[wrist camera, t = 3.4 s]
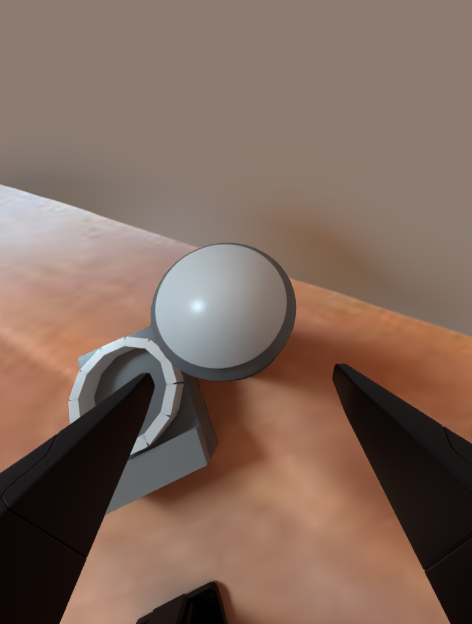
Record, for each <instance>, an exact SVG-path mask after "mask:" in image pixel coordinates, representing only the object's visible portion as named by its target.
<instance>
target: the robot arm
mask: <svg viewBox="0 0 472 624" xmlns="http://www.w3.org/2000/svg"><path fill="white" fill-rule="evenodd" d="M332 379H333V383H334V385H335V388H336V391H337V393H338V396H339V398H340V401H341V404H342V406H343V409H344V411H345V414H346V416H347V418H348V420H349V422H350V424H351V426H352V428H353V430H354V432H355V434H356V436H357V438H358V440H359V442H360V444H361V446H362V448H363V450H364V452H365V454H366V456H367V458H368V460H369V462H370V464H371V466H372V468H373V470H374V472H375V474H376V476H377V478H378V480H379V482H380V484H381V486H382V488H383V490H384V492H385V494H386V496H387V498H388V500H389V502H390V504H391V506H392V508H393V510H394V512H395V514H396V516H397V518H398V520H399V522H400V524H401V526H402V528H403V530H404V532H405V534H406V536H407V538H408V540H409V542H410V544H411V546H412V548H413V550H414V552H415V554H416V556H417V558H418V560H419V562H420V564H421V566H422V568H423V569H424V570H425V574H426V576H427V578H428V580H429V582H430V584H431V586H432V588H433V590H434V592H435V594H436V596H437V598H438V600H439V602H440V604H441V606H442V608H443V610H444V612H445V614H446V616H447V618H448V620H449V622H450V624H472V443H470V442H468V441H467V440H465V439H463V438H462V437H460V436H459V435H457V434H455V433H454V432H452V431H451V430H449V429H448V428H446V427H442V425H441V424H440V423H438V422H436V421H435V420H433V419H432V418H430V417H429V416H427V415H425V414H424V413H422V412H421V411H419V410H418V409H416V408H414V407H413V406H411V405H410V404H408V403H407V402H405V401H403V400H402V399H400V398H399V397H397V396H396V395H394V394H392V393H391V392H389V391H388V390H386V389H385V388H383V387H381V386H380V385H378V384H377V383H375V382H374V381H372V380H370V379H369V378H367V377H366V376H364V375H362V374H361V373H359V372H358V371H356V370H355V369H353V368H351V367H350V366H348V365H347V364H344V363H342V364H335V366H334V371H333V377H332ZM154 389H155V383H154V381H153V378H152V376H151V374H150V373H140V374H139V375H137V376H136V377H135V378H133V379H132V380H131V381H129V382H128V383H126V384H125V385H124V386H122V387H121V388H119V389H118V390H117V391H115V392H114V393H113V394H111V395H110V396H108V397H107V398H106V399H104V400H103V401H101V402H100V403H99V404H97V405H96V406H95V407H93V408H92V409H90V410H89V411H88V412H86V413H85V414H84V415H82V416H81V417H79V418H78V419H77V420H75V421H74V422H72V423H71V424H70V425H68V426H67V427H66V428H64V429H63V430H61V431H60V432H59V433H58V434H56V435H54V436H53V437H52V438H50V439H49V440H48V441H46V442H45V443H43V444H42V445H41V446H39V447H38V448H36V449H35V450H33V451H32V452H31V453H29V454H28V455H26V456H25V457H23V458H22V459H20V460H19V461H17V462H16V463H15V464H13V465H12V466H10V467H9V468H7V469H6V470H4V471H3V472H1V473H0V624H59V623H60V621H61V619H62V616H63V614H64V612H65V609H66V607H67V604H68V602H69V600H70V597H71V595H72V593H73V590H74V588H75V585H76V583H77V581H78V578H79V576H80V574H81V571H82V569H83V566H84V564H85V562H86V558H87V556H88V554H89V552H90V549H91V547H92V545H93V542H94V540H95V537H96V535H97V533H98V530H99V528H100V526H101V523H102V521H103V518H104V516H105V514H106V511H107V509H108V507H109V504H110V502H111V499H112V497H113V495H114V492H115V490H116V487H117V485H118V483H119V480H120V478H121V476H122V473H123V471H124V468H125V466H126V464H127V461H128V459H129V457H130V454H131V452H132V449H133V447H134V445H135V442H136V440H137V438H138V435H139V433H140V430H141V428H142V426H143V423H144V421H145V418H146V415H147V412H148V409H149V405H150V402H151V399H152V396H153V393H154ZM209 593H212V594H213V597H211V596H210V595H209ZM136 624H227V620H226V616H225V612H224V609H223V605H222V601H221V597H220V594H219V590H218V587H217V585H216V584H215V583H214V582H209V583H207V584H205V585H204V586H202V587H200V588H198V589H196V590H194V591H192V592H190V593H188V594H183V595H181V596H179V597H177V598H175V599H173V600H171V601H169V602H167V603H165V604H163V605H161V606H159V607H157V608H155V609H154V610H153V612H151V613H149V614H148V615H146V616H144V617H142V618H140V619H139V620H137V622H136Z"/></svg>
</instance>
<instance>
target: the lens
mask: <svg viewBox="0 0 472 624" xmlns="http://www.w3.org/2000/svg"><path fill="white" fill-rule="evenodd" d="M295 316H296V299H295V294H294V290H293V287H292V284H291V282H290V280H289V278H288V276H287V274H286V273H285V271H284V270H283V269H282V267H281V266H280V265H279V264H278V263H277V262H276V261H275V260H274V259H272V258H271V257H270V256H269V255H267V254H265V253H264V252H262V251H260V250H258V249H256V248H253V247H250V246H247V245H242V244H235V243H219V244H212V245H209V246H205V247H202V248H199V249H197V250H195V251H192V252H190V253H189V254H187V255H185V256H184V257H182V258H181V259H180V260H179V261H177V262H176V263H175V264H174V265H173V266H172V267H171V268H170V269H169V270H168V271H167V273H166V274H165V275H164V277H163V278H162V280H161V281H160V283H159V285H158V287H157V289H156V292H155V295H154V297H153V302H152V306H151V326H152V331H153V335H154V337H155V340H156V343H157V345H158V346H159V348H160V350H161V351H162V353H163V354H164V356H165V357H166V358H167V359H168V360H169V361H170V362H171V363H172V364H173V365H174V366H176V367H177V368H178V369H180V370H181V371H183V372H185V373H187V374H189V375H191V376H194V377H197V378H199V379H204V380H209V381H234V380H241V379H245V378H248V377H251V376H253V375H255V374H257V373H259V372H261V371H262V370H263V369H265V368H266V367H267V366H268V365H269V364H270V363H271V362H272V361H273V360H274V359H275V358H276V356H277V355H278V354H279V353H280V351H281V350H282V349H283V347H284V346H285V344H286V342H287V341H288V339H289V337H290V334H291V332H292V329H293V326H294V322H295Z"/></svg>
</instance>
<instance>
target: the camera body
mask: <svg viewBox="0 0 472 624" xmlns="http://www.w3.org/2000/svg"><path fill="white" fill-rule="evenodd" d="M78 360H79V369H80V372H78V375H77V378H76V381H75V383H74V386H73V389H72V392H71V394H70V397H69V399H70V400H72V401H69V402H68V405H69V417H70V424H71V423H72V422H74V421H75V420H77V419H78V418H79V417H81V416H82V415H84V414H85V413H86V412H88V411H89V410H90V409H92V408H93V407H95V406H96V405H97V404H99V403H100V402H101V401H103V400H104V399H106V398H107V397H108V396H110V395H111V394H113V393H114V392H115V391H117V390H118V389H119V388H121V387H122V386H124V385H125V384H126V383H128V382H129V381H131V380H132V379H133V378H135V377H136V376H137V375H139V374H140V373H150V374H151V376H152V378H153V381H154V383H155V389H154V393H153V396H152V399H151V402H150V405H149V409H148V412H147V415H146V418H145V421H144V423H143V426H142V428H141V430H140V433H139V435H138V438H137V440H136V442H135V445H134V447H133V449H132V452H131V454H130V457H129V459H128V461H127V464H126V466H125V468H124V471H123V473H122V476H121V478H120V480H119V483H118V485H117V487H116V490H115V492H114V495H113V497H112V499H111V502H110V504H109V507H108V509H107V511H106V514H108V513H110V512H112V511H114V510H116V509H118V508H120V507H122V506H124V505H126V504H128V503H130V502H132V501H135V500H137V499H139V498H141V497H143V496H145V495H147V494H149V493H151V492H153V491H155V490H157V489H159V488H161V487H163V486H165V485H167V484H170V483H172V482H174V481H176V480H178V479H180V478H182V477H184V476H186V475H188V474H190V473H192V472H194V471H196V470H198V469H200V468H203V467H205V466H207V464H208V463H209V461H210V459H211V457H212V455H213V453H214V451H215V449H216V447H217V445H218V441H217V438H216V435H215V432H214V429H213V426H212V423H211V420H210V417H209V414H208V411H207V408H206V405H205V402H204V399H203V396H202V393H201V390H200V387H199V384H198V381H197V378H196V377H194V376H191V375H189V374H187V373H185V372H183V371H181V370H180V369H178V368H177V367H176V366H174V365H173V364H172V363H171V362H170V361H169V360H168V359H167V358H166V357H165V356H164V354H163V353H162V351H161V350H160V348H159V346H158V345H157V343H156V340H155V337H154V335H153V331H152V326H149V327H147V328H144V329H142V330H140V331H138V332H135V333H133V334H131V335H128V336H126V337H123V338H121V339H118V340H116V341H114V342H111V343H109V344H107V345H105V346H102V347H101V348H99V349H97V350H94V351H92V352H90V353H88V354H85V355H83V356H81V357H79V358H78ZM106 514H105V515H106Z"/></svg>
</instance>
